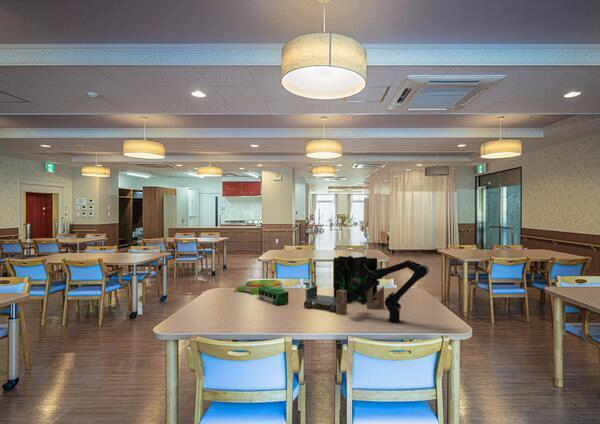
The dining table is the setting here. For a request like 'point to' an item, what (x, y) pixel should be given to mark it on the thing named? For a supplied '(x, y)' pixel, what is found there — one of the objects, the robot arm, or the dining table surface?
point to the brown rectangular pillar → (341, 302)
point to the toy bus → (273, 295)
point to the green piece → (257, 285)
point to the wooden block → (378, 295)
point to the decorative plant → (351, 274)
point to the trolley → (319, 299)
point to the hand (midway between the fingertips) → (350, 301)
